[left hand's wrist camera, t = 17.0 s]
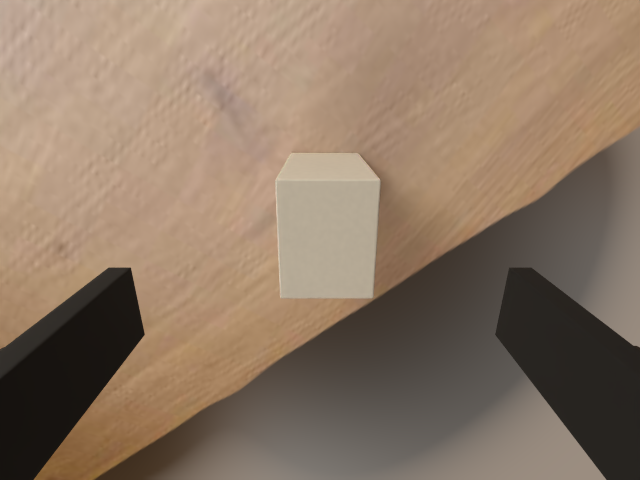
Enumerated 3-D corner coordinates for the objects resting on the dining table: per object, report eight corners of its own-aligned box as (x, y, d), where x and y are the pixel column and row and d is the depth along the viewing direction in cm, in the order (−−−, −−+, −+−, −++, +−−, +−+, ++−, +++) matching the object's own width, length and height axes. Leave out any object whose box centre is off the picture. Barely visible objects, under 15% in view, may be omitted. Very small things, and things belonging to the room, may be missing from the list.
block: (355, 234, 30) (373, 299, 20) (292, 234, 30) (280, 299, 20) (358, 152, 27) (381, 179, 18) (290, 152, 27) (275, 179, 18)
